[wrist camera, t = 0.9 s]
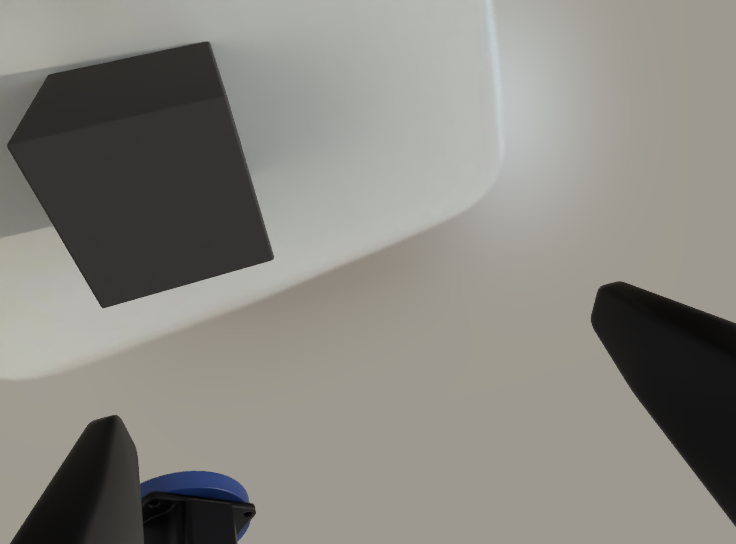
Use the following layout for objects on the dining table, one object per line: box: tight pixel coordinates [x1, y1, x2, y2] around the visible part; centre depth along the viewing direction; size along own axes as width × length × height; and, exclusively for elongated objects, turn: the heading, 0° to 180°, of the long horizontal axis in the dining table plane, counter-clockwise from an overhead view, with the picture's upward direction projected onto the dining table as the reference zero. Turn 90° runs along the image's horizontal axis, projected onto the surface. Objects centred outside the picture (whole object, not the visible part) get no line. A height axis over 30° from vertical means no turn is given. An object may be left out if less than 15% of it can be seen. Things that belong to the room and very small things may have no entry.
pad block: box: [7, 42, 274, 308], centre depth 15 cm, size 5×5×6 cm
